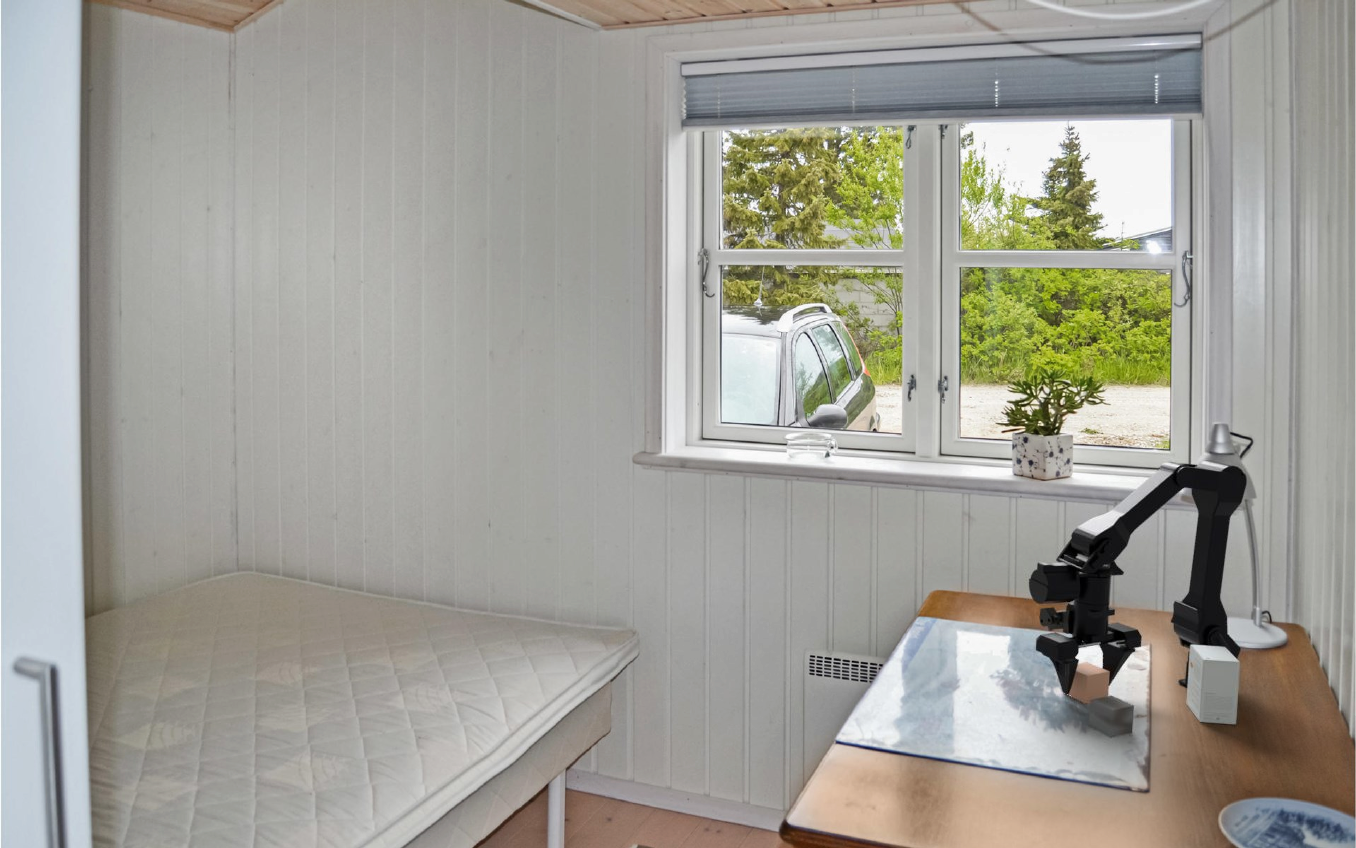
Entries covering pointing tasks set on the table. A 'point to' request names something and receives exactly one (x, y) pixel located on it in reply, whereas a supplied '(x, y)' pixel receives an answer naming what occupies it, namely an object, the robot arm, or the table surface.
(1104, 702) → the charcoal block
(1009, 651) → the table surface
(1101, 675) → the terracotta block
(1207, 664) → the small box
